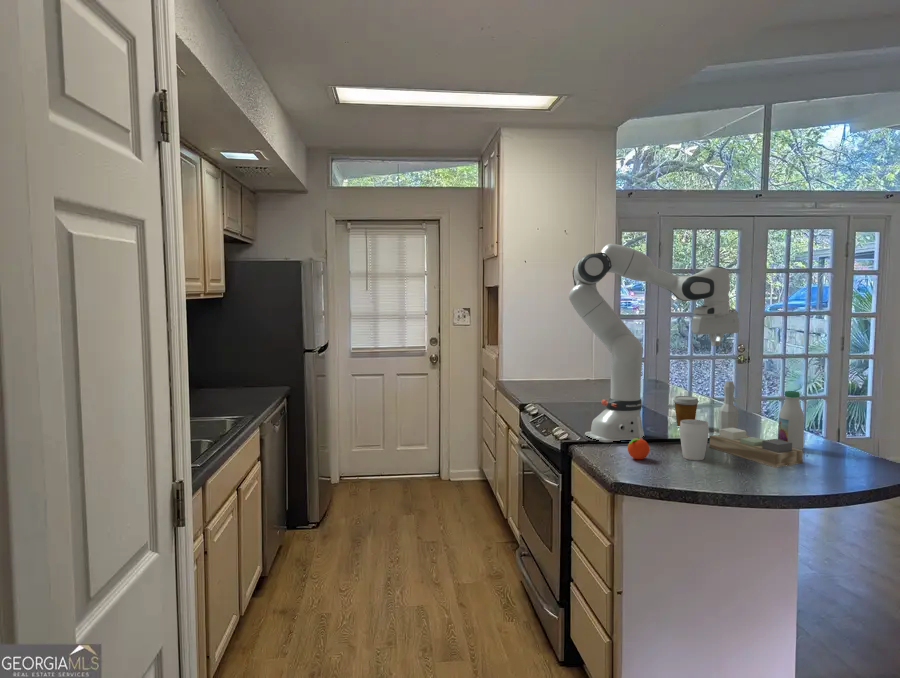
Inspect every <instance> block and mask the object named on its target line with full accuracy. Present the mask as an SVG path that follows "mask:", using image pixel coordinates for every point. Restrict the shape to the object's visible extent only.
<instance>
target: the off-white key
mask: <svg viewBox="0 0 900 678" xmlns="http://www.w3.org/2000/svg"><path fill="white" fill-rule="evenodd" d="M747 433H748V432H747V430H745V429H744V430H743V429H740V428H737V429H736V428H725V429H720V430H719V435H720V437H723V438H727V439H731V440H739V439H741V438H746V436H747Z"/></svg>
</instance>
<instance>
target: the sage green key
mask: <svg viewBox="0 0 900 678" xmlns="http://www.w3.org/2000/svg"><path fill="white" fill-rule="evenodd" d="M763 440H764V439H763V438H758V437H756V436H750V437H749V438H741V439H740V442H741V443H745V444H748V445H752V446H761V445H762V441H763Z"/></svg>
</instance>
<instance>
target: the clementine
mask: <svg viewBox="0 0 900 678" xmlns="http://www.w3.org/2000/svg"><path fill="white" fill-rule="evenodd" d="M628 442H629V443H628V444H627V452H628V455H630V457H631V458H632V459H636V460H644V459H645V458H647V456H648V455H649V454H650V446H649V443H648V442H647V441H646V440H645V439H643V438H642V439H641V438H635V439H633V440H631V441H628Z"/></svg>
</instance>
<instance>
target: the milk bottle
mask: <svg viewBox="0 0 900 678" xmlns="http://www.w3.org/2000/svg"><path fill="white" fill-rule="evenodd" d="M800 393H801V392H799V391H796V390H786V391H784V398H785V399H784V402H783V405H782V406H781V408H780V411H779V414H778V428H777V429H778V430H777V431H778V434H777V439H779V440H783V441H787V442H791V443H792V448H795V449H798V450H802V451H803V449H804V435H805V434H804V433H805V432H804V431H805V425H804V424H805V416H804V415H805V414H804V412H803V409H802V407H801V404H800V396H801V394H800Z"/></svg>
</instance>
